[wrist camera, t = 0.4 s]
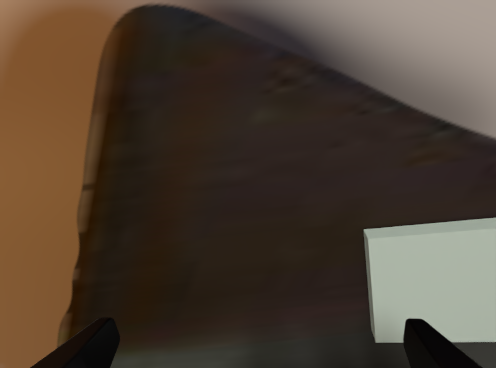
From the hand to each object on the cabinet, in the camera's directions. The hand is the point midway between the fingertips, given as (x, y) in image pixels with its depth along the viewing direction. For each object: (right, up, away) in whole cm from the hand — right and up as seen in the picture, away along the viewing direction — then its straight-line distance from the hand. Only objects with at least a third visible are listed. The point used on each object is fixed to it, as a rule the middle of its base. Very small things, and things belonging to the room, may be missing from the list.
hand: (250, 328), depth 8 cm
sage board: (+15, -3, +14) cm, 21 cm away
